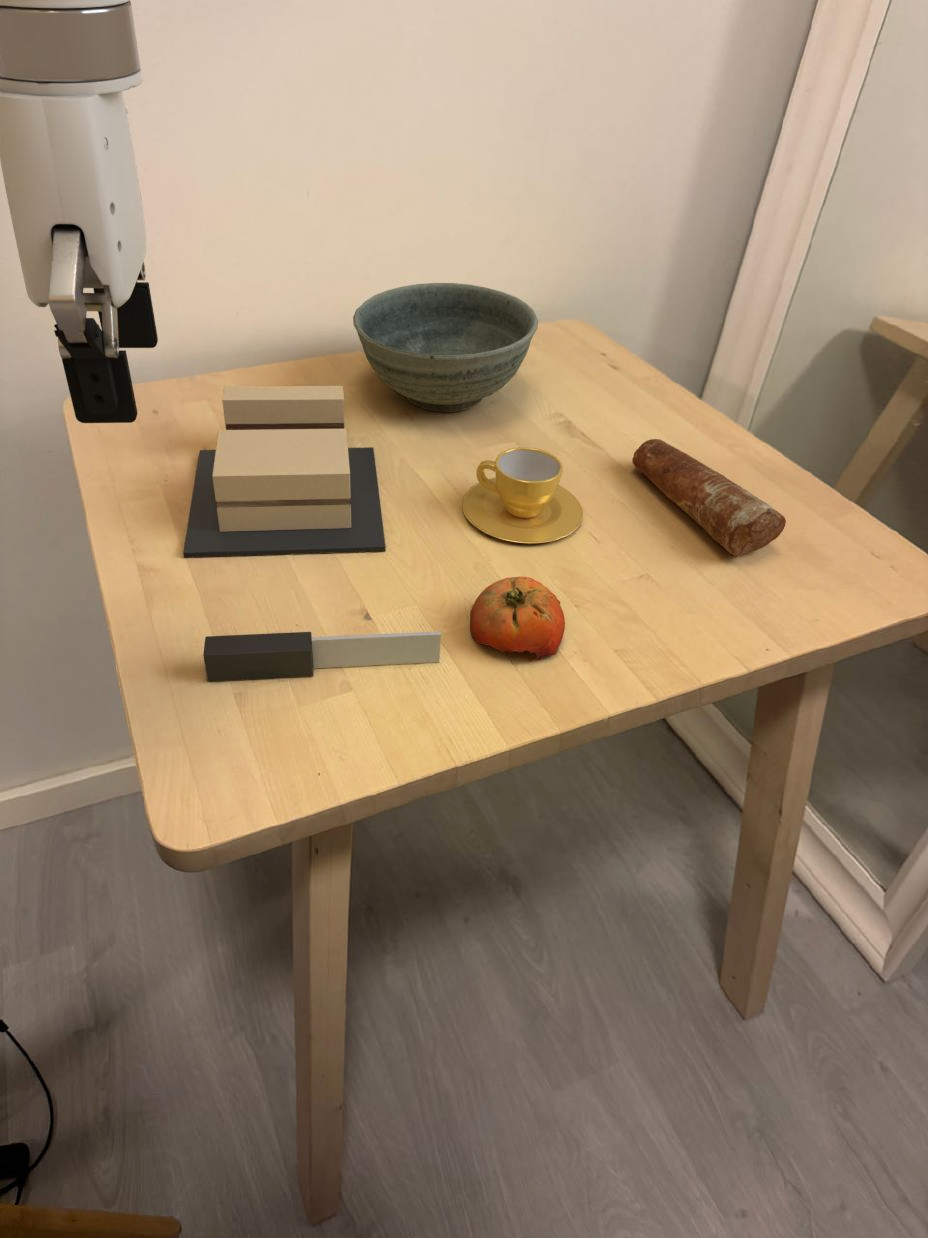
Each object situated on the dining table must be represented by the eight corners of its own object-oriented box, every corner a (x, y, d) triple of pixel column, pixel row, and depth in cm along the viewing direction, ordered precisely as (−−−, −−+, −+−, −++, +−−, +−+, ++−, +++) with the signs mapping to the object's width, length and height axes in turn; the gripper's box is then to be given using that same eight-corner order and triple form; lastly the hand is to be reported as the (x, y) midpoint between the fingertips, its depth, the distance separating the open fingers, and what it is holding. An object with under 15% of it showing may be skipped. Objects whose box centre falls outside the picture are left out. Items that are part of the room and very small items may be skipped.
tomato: (447, 594, 76) (511, 542, 74) (498, 621, 81) (559, 573, 78) (473, 668, 72) (542, 615, 69) (525, 692, 76) (592, 644, 74)
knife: (207, 682, 69) (202, 653, 67) (209, 662, 71) (204, 633, 69) (440, 670, 72) (442, 642, 70) (437, 651, 73) (439, 623, 71)
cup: (593, 493, 93) (601, 447, 90) (567, 558, 84) (575, 509, 81) (481, 469, 95) (485, 423, 92) (445, 530, 87) (448, 481, 83)
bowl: (551, 432, 102) (563, 348, 96) (368, 444, 98) (367, 356, 92) (503, 354, 118) (510, 277, 111) (343, 361, 113) (341, 281, 107)
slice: (228, 452, 94) (222, 399, 90) (230, 438, 96) (224, 386, 92) (345, 451, 95) (344, 398, 91) (344, 437, 98) (342, 385, 94)
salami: (729, 570, 84) (744, 520, 81) (620, 469, 97) (629, 422, 94) (782, 556, 87) (799, 507, 83) (668, 459, 99) (679, 413, 96)
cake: (183, 558, 81) (173, 495, 76) (200, 454, 94) (191, 396, 90) (385, 551, 83) (386, 490, 79) (373, 451, 97) (373, 395, 93)
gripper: (13, 13, 49) (81, 322, 60) (-89, 78, 36) (21, 456, 47) (158, 21, 50) (197, 322, 61) (108, 86, 37) (170, 454, 48)
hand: (121, 380), depth 54 cm, fingers open, 9 cm apart
